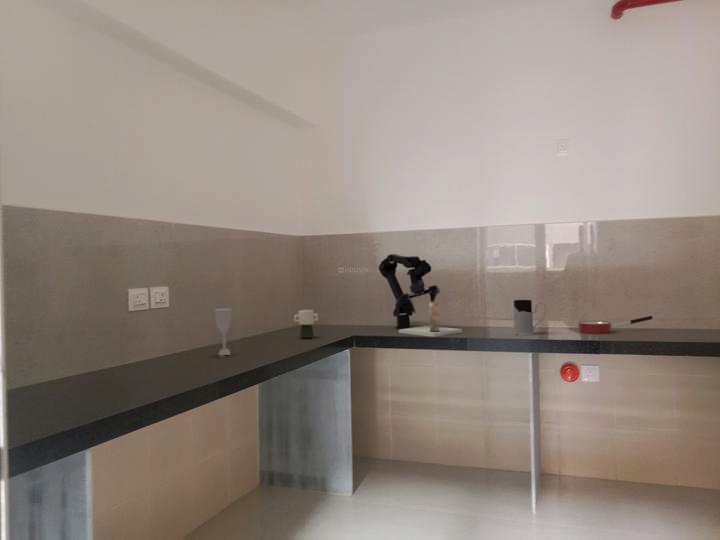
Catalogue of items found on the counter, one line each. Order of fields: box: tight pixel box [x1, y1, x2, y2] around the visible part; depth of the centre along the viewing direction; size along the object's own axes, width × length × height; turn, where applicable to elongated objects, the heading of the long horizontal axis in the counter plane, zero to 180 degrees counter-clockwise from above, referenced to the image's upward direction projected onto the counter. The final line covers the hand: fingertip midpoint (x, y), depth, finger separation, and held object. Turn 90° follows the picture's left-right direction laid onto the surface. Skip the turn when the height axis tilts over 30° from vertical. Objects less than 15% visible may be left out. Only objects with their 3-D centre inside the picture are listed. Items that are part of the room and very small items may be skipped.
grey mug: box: [513, 299, 547, 336], centre depth 235 cm, size 9×14×15 cm, turn 78°
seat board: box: [398, 325, 463, 338], centre depth 253 cm, size 23×19×2 cm
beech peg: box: [428, 301, 440, 332], centre depth 245 cm, size 4×4×15 cm
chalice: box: [213, 308, 232, 357], centre depth 208 cm, size 7×7×18 cm
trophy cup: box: [293, 309, 319, 339], centre depth 248 cm, size 11×7×13 cm, turn 98°
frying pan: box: [578, 315, 653, 335], centre depth 236 cm, size 32×13×6 cm, turn 97°
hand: (423, 310), depth 256 cm, fingers open, 9 cm apart
